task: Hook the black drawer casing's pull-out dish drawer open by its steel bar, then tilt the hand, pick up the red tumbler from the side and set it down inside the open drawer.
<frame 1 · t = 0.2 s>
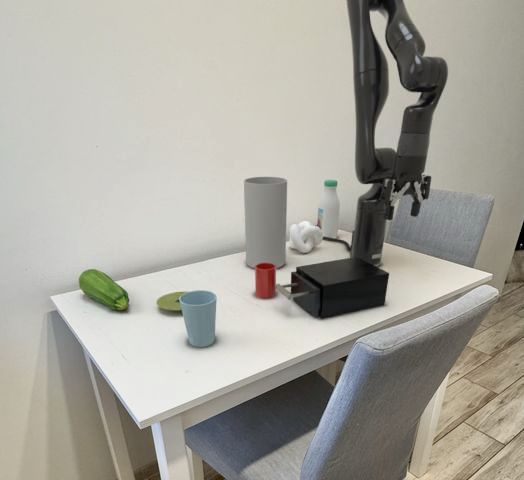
hand: (401, 217, 115), 17 cm above the table, tool pointing down, fingers open, 8 cm apart
cylinder vase: (265, 264, 134), on the table
vegetable: (108, 302, 110), on the table
black drawer casing: (338, 301, 110), on the table
red tumbler: (265, 294, 114), on the table
cup: (202, 341, 93), on the table
milk bottle: (326, 237, 159), on the table
white knot sculpture: (302, 250, 146), on the table
mat: (180, 307, 107), on the table
dish drawer: (322, 289, 106), point 4 cm above the table, slide at 0.5 cm
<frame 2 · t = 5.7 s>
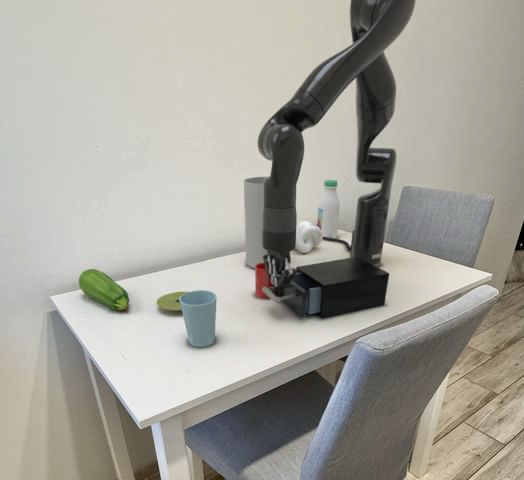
hand: (278, 299, 101), 4 cm above the table, tool pointing down, fingers closed
dish drawer: (310, 291, 104), point 4 cm above the table, slide at 4.1 cm, touching gripper
everything else where it was.
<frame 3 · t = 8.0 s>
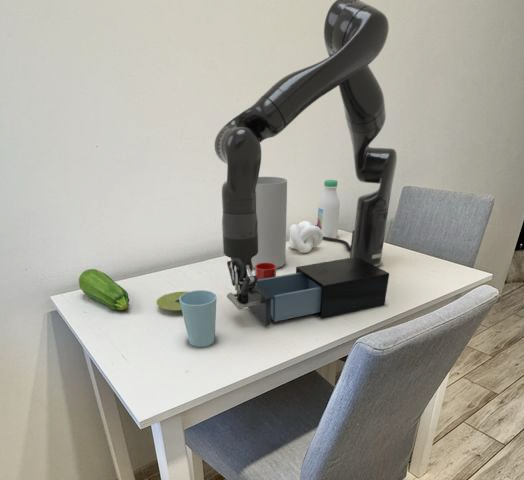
hand: (242, 306, 98), 4 cm above the table, tool pointing down, fingers closed
dish drawer: (277, 298, 101), point 4 cm above the table, slide at 13.1 cm
everything else where it was.
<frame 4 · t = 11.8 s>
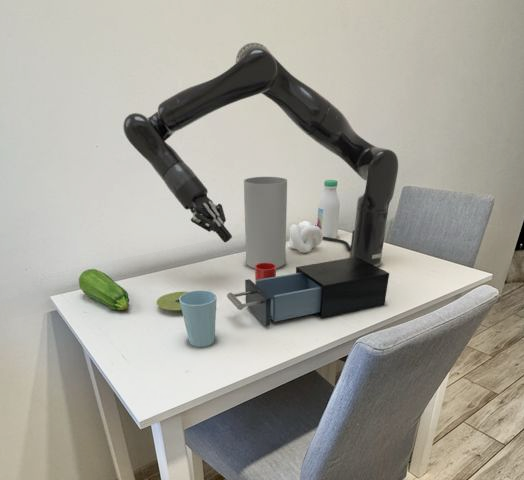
hand: (228, 239, 110), 14 cm above the table, tool tilted 45°, fingers closed
nothing on the table moved.
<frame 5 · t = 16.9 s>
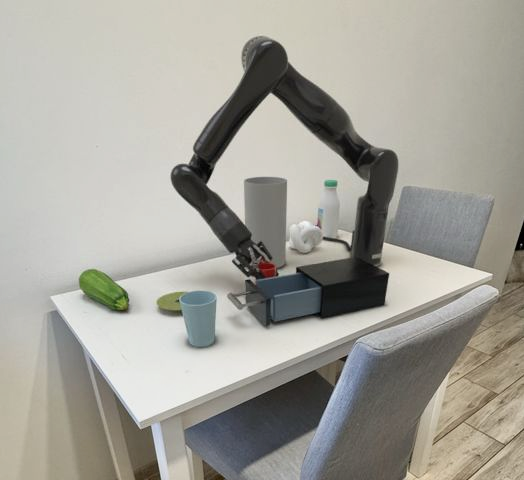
hand: (271, 280, 111), 4 cm above the table, tool tilted 45°, fingers closed on red tumbler, 5 cm apart
red tumbler: (265, 294, 114), on the table, touching gripper
everything else where it was.
when the fingers open (7 cm above the table, at t = 30.1 s): red tumbler drops 1 cm, resting on dish drawer.
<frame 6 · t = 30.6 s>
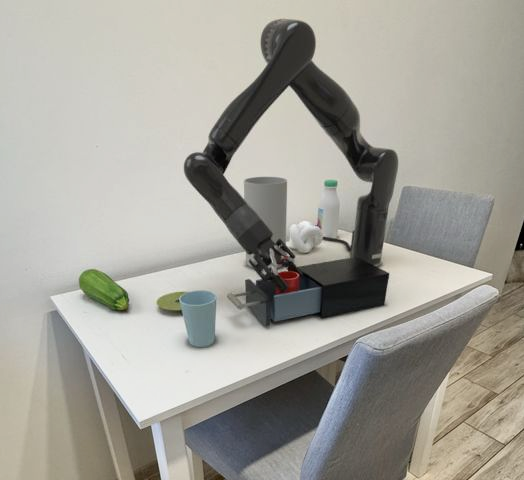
hand: (292, 283, 99), 8 cm above the table, tool tilted 45°, fingers open, 8 cm apart
red tumbler: (286, 306, 103), point 2 cm above the table, touching dish drawer
dish drawer: (277, 298, 101), point 4 cm above the table, slide at 13.1 cm, touching red tumbler
everything else where it was.
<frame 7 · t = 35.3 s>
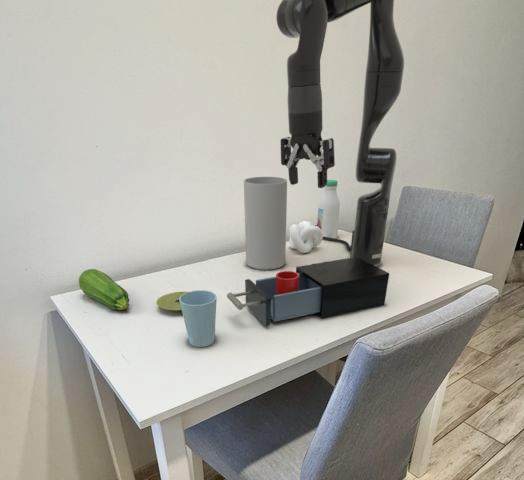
hand: (307, 185, 102), 27 cm above the table, tool pointing down, fingers open, 8 cm apart
nothing on the table moved.
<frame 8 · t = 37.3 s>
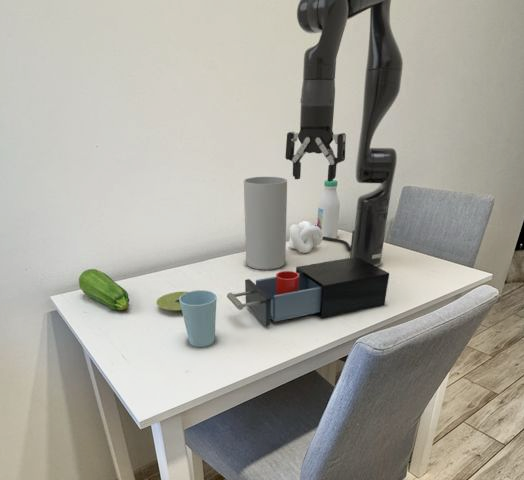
hand: (313, 180, 104), 28 cm above the table, tool pointing down, fingers open, 8 cm apart
nothing on the table moved.
at the end: dish drawer slide at 13.1 cm; red tumbler inside the target area in the dish drawer (0.5 cm from its centre), point 2.0 cm above the black drawer casing's base; the gripper is holding nothing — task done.
